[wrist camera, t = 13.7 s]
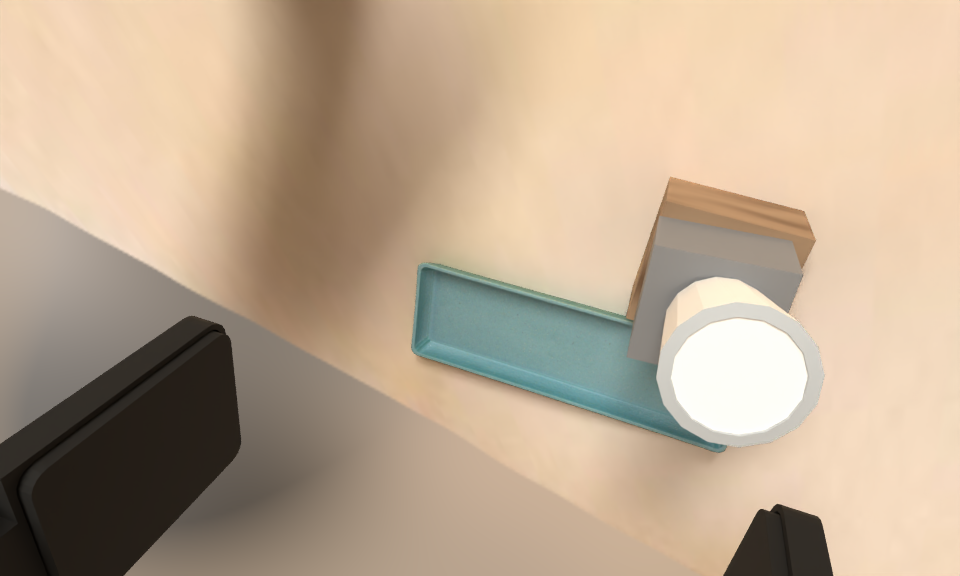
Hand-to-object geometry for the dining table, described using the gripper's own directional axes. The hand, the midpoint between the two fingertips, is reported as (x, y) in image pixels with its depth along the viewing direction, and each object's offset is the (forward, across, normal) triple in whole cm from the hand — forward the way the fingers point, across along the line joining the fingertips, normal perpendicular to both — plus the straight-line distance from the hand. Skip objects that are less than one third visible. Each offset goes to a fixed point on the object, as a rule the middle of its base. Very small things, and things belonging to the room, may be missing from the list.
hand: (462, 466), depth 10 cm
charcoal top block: (+28, -7, +9) cm, 31 cm away
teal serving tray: (+34, 0, +19) cm, 39 cm away
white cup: (+24, -8, +9) cm, 26 cm away
